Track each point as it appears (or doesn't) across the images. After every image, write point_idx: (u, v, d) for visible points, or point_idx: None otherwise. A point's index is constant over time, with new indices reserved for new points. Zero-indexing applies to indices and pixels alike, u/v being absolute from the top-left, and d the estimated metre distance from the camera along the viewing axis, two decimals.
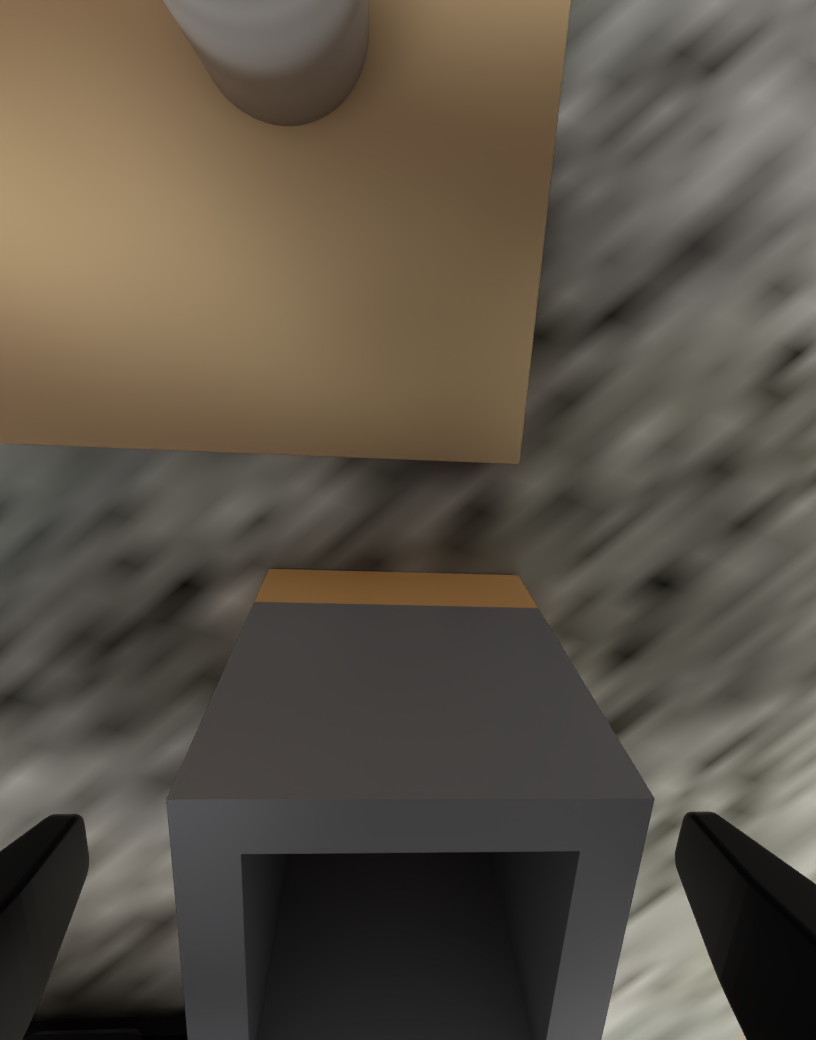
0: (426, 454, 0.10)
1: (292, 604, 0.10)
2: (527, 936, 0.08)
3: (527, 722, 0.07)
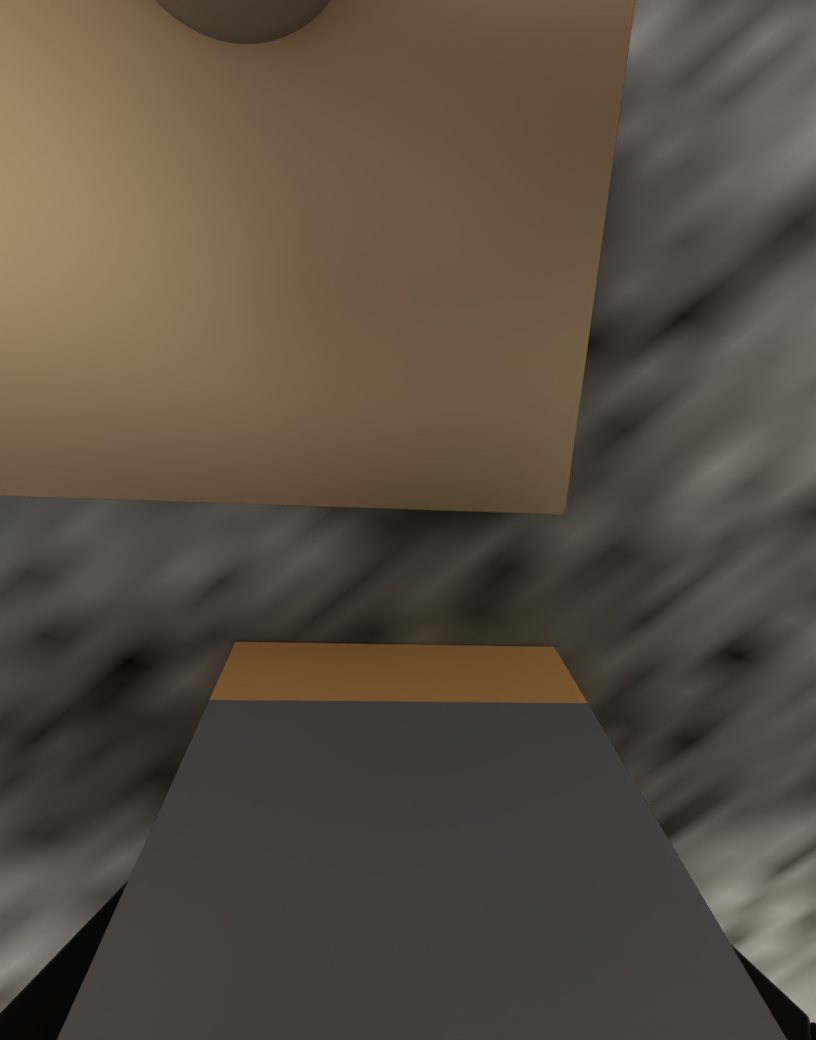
0: (440, 502, 0.07)
1: (260, 701, 0.08)
2: None
3: (605, 944, 0.05)
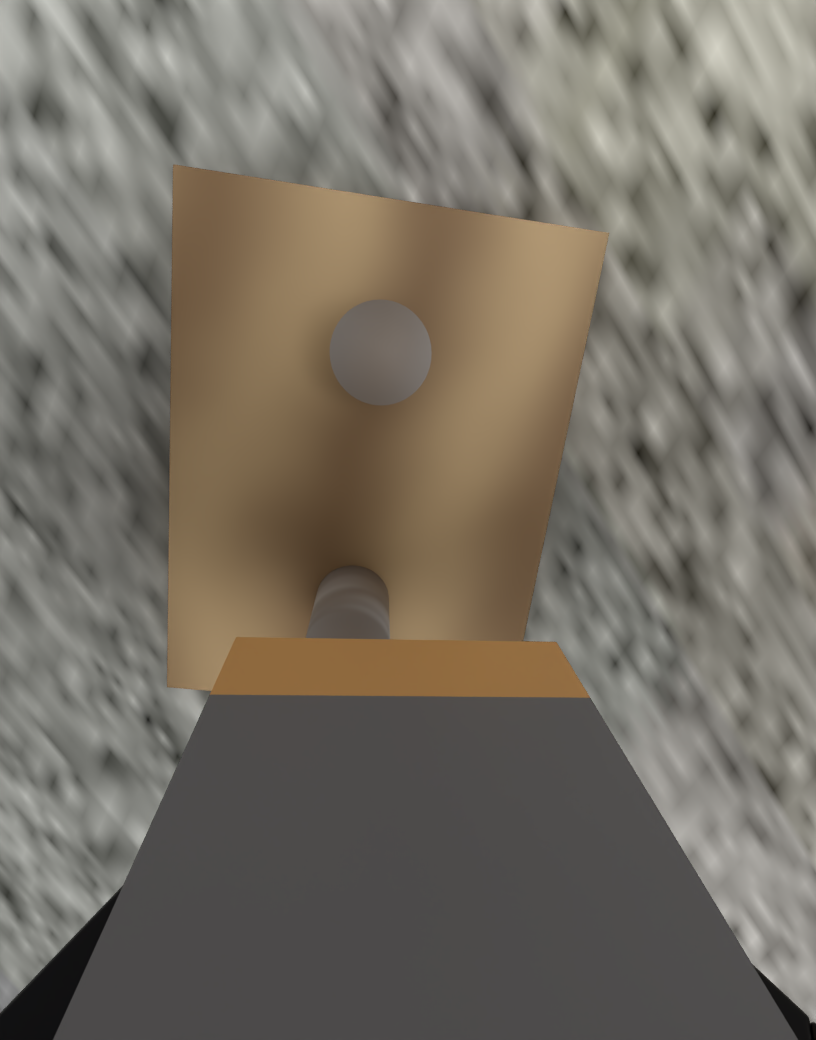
0: (592, 293, 0.17)
1: (261, 695, 0.07)
2: None
3: (609, 937, 0.05)
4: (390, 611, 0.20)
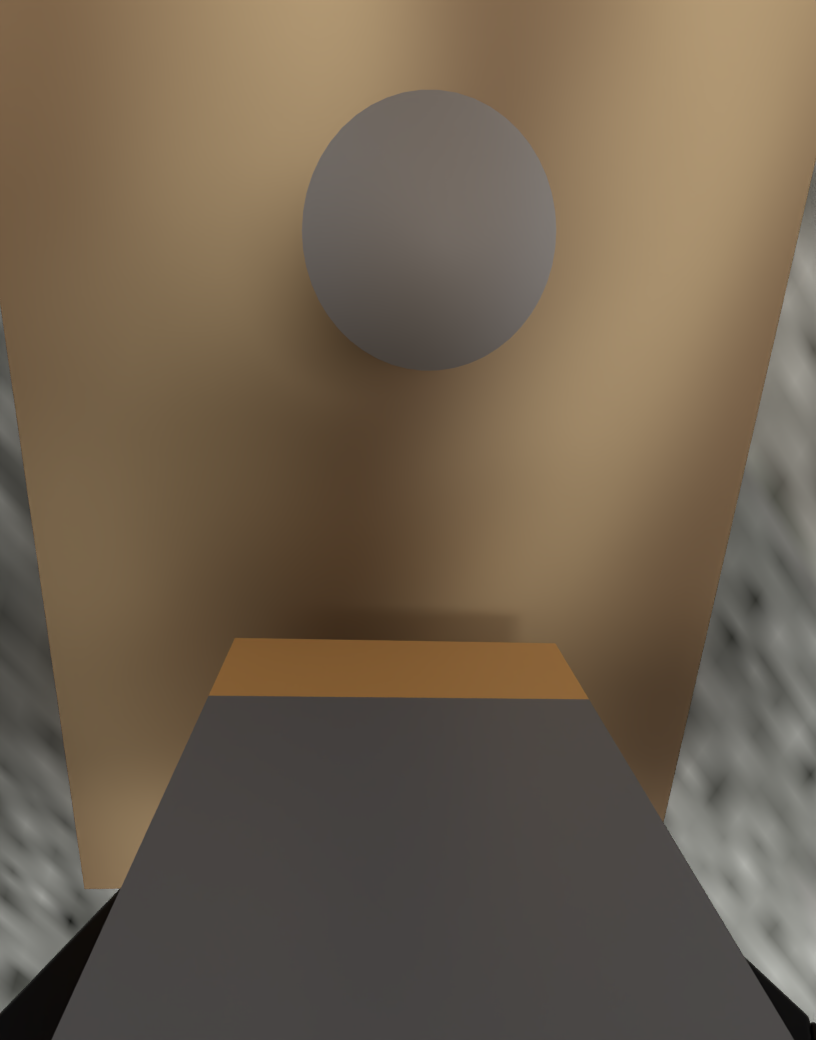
0: None
1: (260, 697, 0.07)
2: None
3: (608, 940, 0.05)
4: None
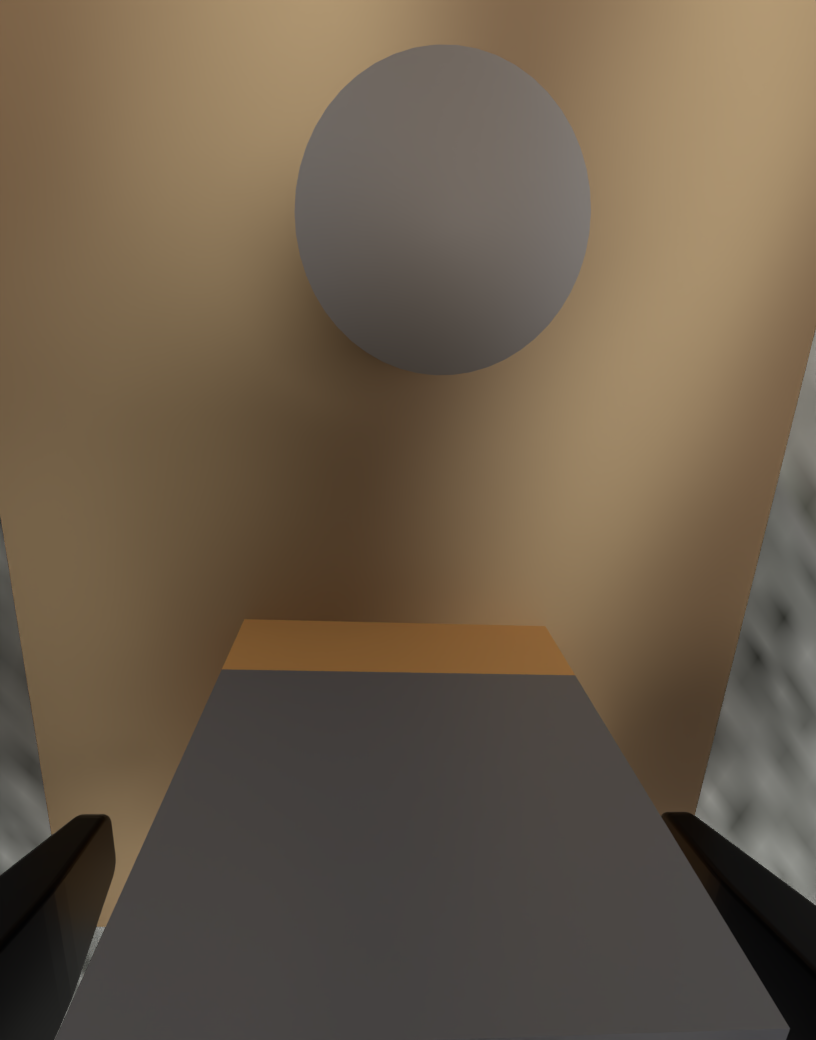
0: None
1: (269, 671, 0.08)
2: None
3: (584, 873, 0.05)
4: None
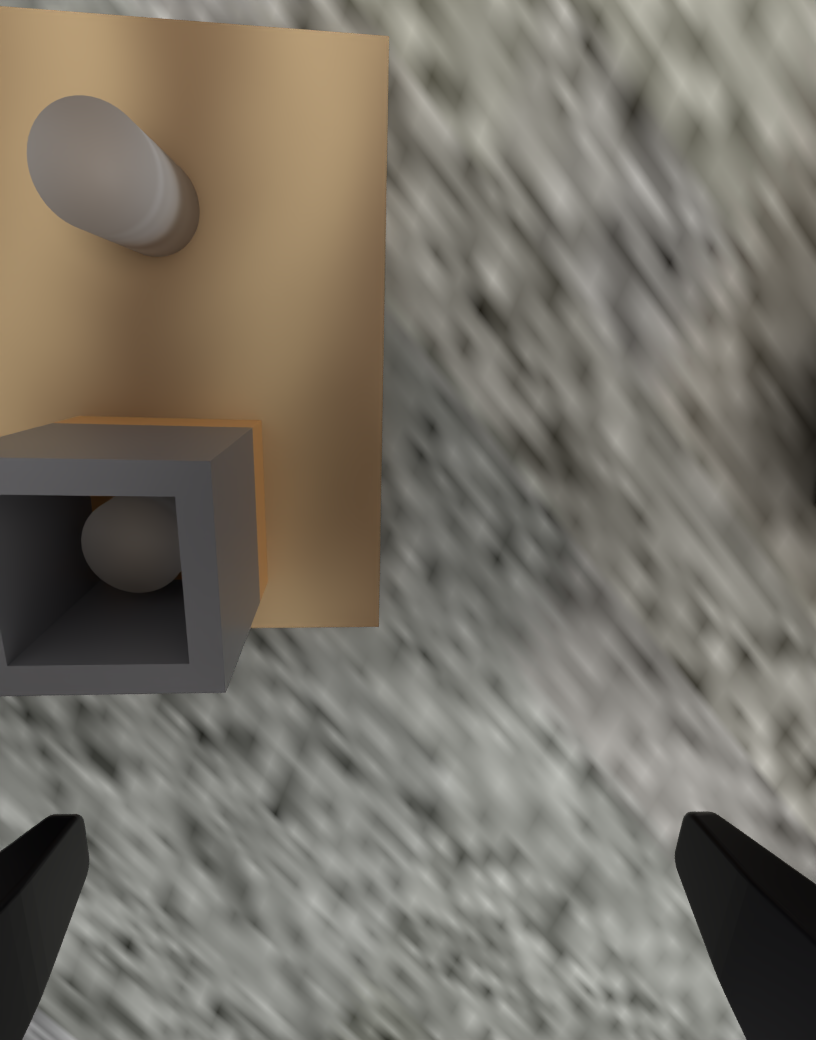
0: (383, 112, 0.15)
1: (79, 424, 0.15)
2: None
3: (173, 448, 0.12)
4: None
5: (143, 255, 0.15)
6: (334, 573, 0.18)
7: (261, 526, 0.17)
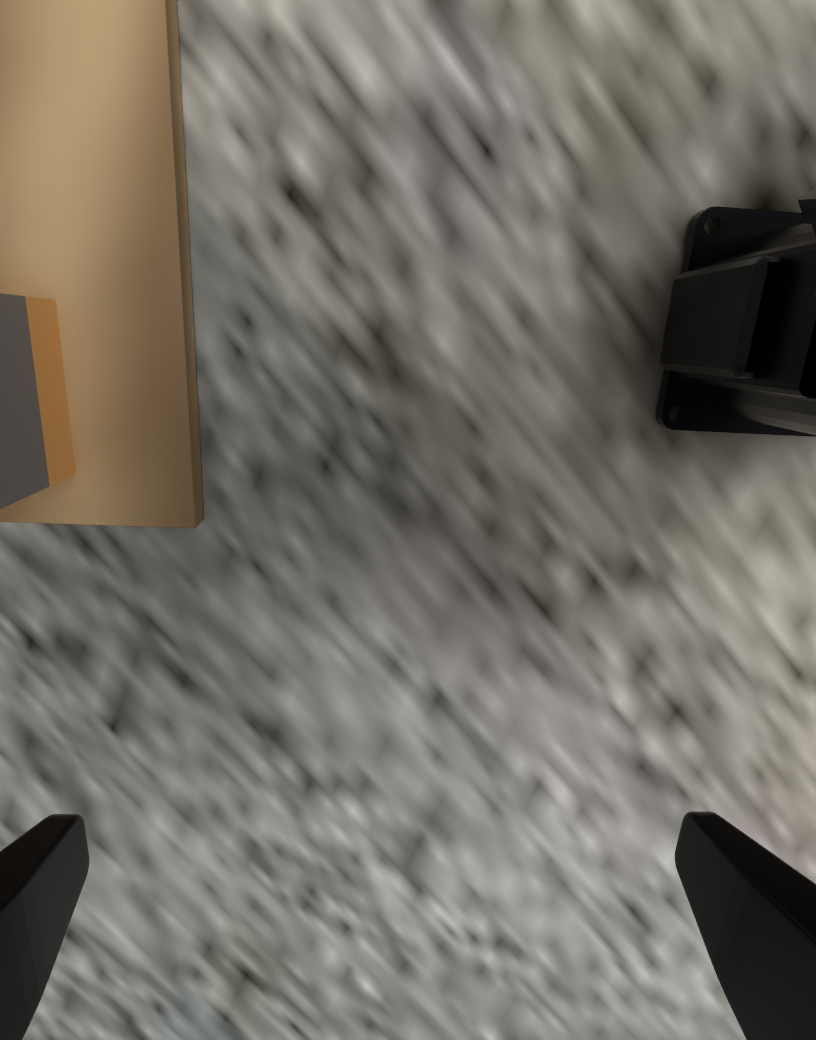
0: None
1: None
2: None
3: None
4: None
5: None
6: (144, 468, 0.18)
7: (55, 410, 0.16)
